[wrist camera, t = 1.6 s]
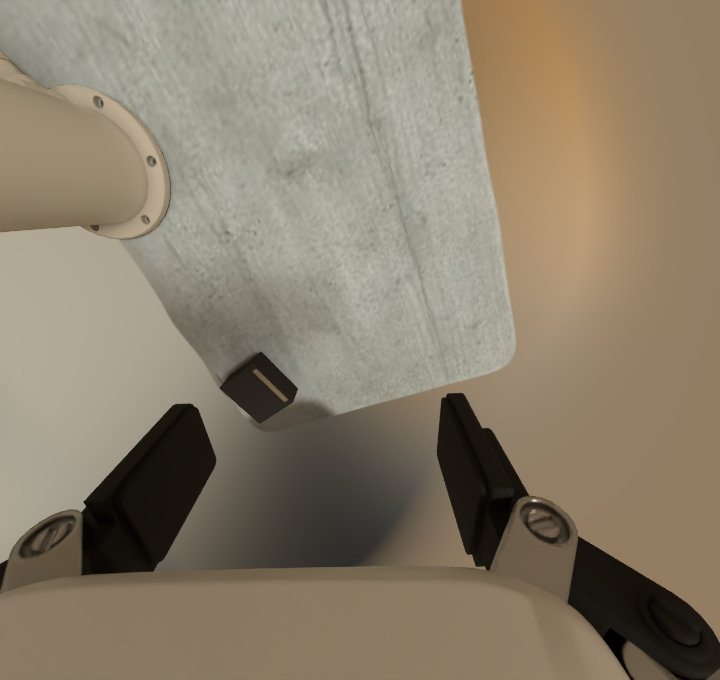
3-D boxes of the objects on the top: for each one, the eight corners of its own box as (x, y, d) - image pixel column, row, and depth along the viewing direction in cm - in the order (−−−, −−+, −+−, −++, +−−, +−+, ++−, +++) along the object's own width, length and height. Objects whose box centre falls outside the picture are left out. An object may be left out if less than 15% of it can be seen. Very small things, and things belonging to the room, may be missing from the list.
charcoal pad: (229, 375, 38) (218, 388, 36) (261, 351, 37) (253, 363, 34) (266, 409, 41) (259, 424, 38) (298, 388, 39) (292, 402, 36)
